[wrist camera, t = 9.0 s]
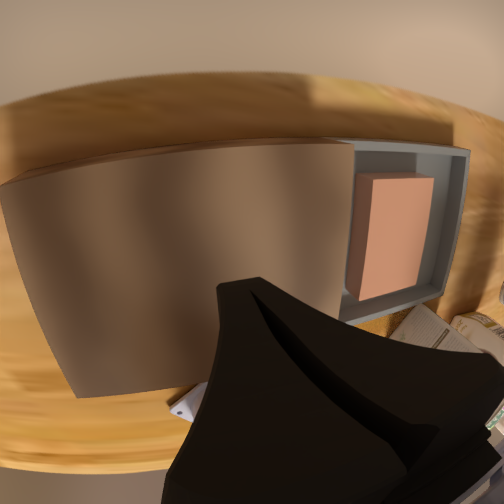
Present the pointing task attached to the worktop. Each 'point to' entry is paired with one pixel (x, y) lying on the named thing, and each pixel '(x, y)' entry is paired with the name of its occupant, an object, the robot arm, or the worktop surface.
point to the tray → (439, 224)
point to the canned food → (502, 294)
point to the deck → (173, 249)
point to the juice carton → (483, 338)
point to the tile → (387, 232)
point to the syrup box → (437, 340)
